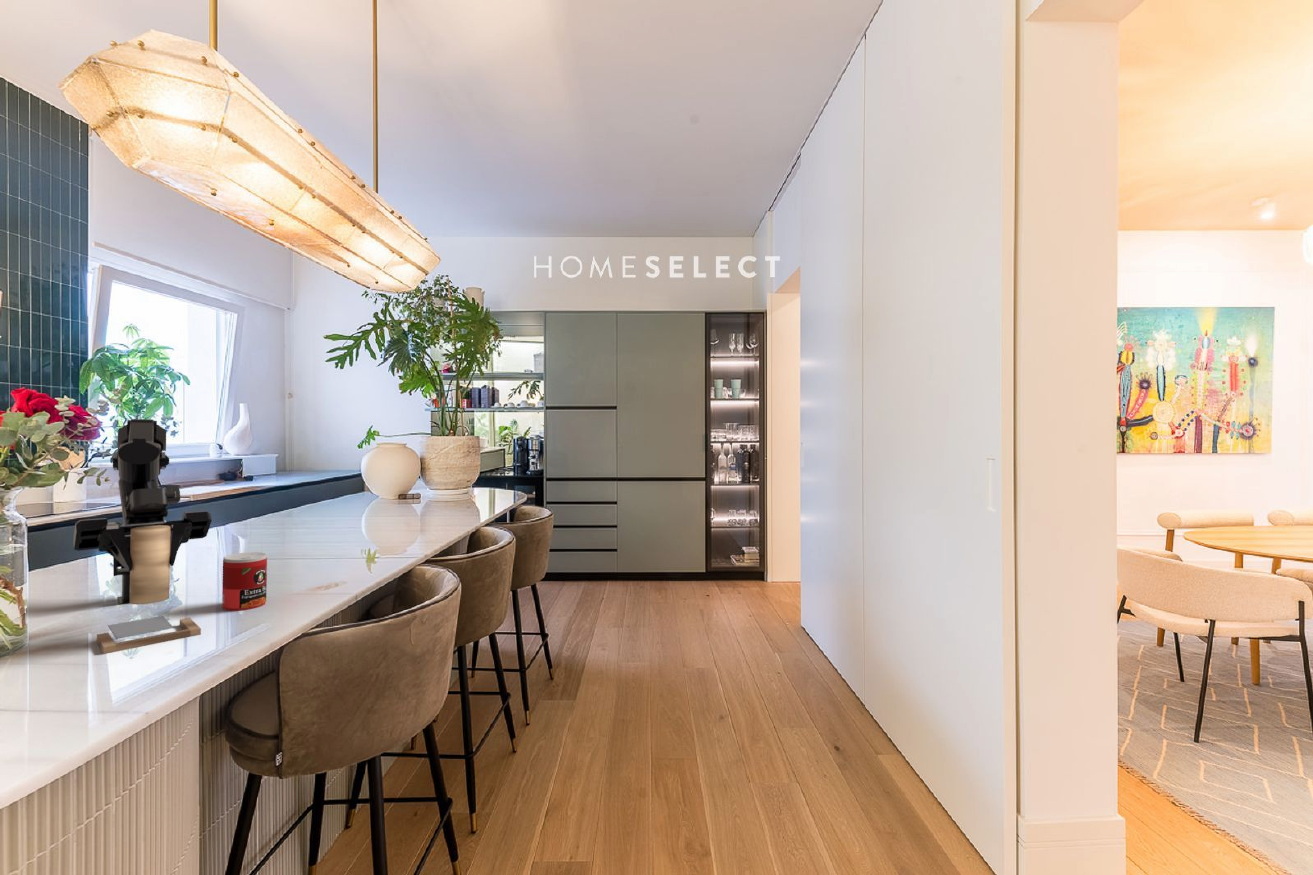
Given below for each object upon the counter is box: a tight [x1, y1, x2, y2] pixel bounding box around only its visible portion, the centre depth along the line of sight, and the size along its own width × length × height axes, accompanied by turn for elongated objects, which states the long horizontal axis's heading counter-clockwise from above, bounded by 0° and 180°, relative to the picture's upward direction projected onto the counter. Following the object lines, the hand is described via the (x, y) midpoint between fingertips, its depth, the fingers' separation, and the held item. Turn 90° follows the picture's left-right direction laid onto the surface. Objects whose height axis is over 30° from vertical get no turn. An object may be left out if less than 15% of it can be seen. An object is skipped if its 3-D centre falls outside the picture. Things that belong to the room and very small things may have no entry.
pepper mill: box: [129, 525, 171, 605], centre depth 105 cm, size 5×5×13 cm
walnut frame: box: [96, 617, 202, 655], centre depth 105 cm, size 9×13×2 cm, turn 140°
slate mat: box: [108, 615, 175, 639], centre depth 110 cm, size 10×8×1 cm
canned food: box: [221, 551, 268, 612], centre depth 124 cm, size 8×8×11 cm
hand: (151, 567), depth 104 cm, fingers closed on pepper mill, 5 cm apart
